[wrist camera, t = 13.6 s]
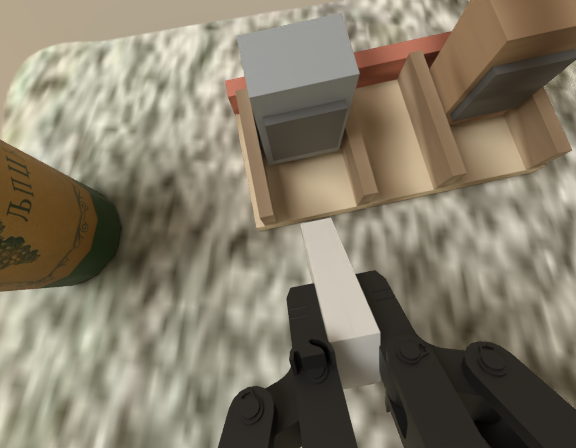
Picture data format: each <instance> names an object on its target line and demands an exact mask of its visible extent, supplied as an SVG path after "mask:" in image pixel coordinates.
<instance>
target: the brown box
mask: <svg viewBox="0 0 576 448" xmlns="http://www.w3.org/2000/svg"><path fill="white" fill-rule="evenodd" d="M575 60H576V0H470V2H469V4H468V5H467V7H466V9H465V10H464V12H463V14H462V15H461V17H460V19H459V21H458V22H457V24H456V26H455V27H454V29H453V31H452V32H451V34H450V36H449V37H448V39H447V41H446V42H445V44H444V46H443V47H442V49H441V51H440V52H439V54H438V56H437V58H436V59H435V61H434V63H433V64H432V66H431V68H430V69H429V71H430V74H431V76H432V79H433V82H434V85H435V87H436V90H437V93H438V96H439V98H440V101H441V104H442V107H443V109H444V112H445V115H446V118H447V120H448V123H449V126H452V125H457V124H462V123H466V122H471V121H476V120H480V119H485V118H489V117H494V116H499V115H503V114H504V113H505V112H506V111H508V110H509V109H514V108H517V107H519V106H520V105H521V104H522V103H524V102H525V101H526V100H527V99H528V98H530V97H531V96H532V95H533V94H535V93H536V92H537V91H538V90H539V89H541V88H542V87H543V86H544V85H546V84H547V83H548V82H549V81H550V80H552V79H553V78H554V77H555V76H557V75H558V74H559V73H560V72H561V71H563V70H564V69H565V68H566V67H568V66H569V65H570V64H571V63H573V62H574V61H575Z"/></svg>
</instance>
